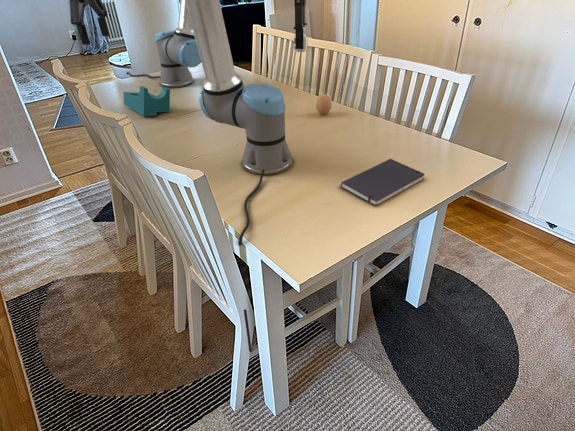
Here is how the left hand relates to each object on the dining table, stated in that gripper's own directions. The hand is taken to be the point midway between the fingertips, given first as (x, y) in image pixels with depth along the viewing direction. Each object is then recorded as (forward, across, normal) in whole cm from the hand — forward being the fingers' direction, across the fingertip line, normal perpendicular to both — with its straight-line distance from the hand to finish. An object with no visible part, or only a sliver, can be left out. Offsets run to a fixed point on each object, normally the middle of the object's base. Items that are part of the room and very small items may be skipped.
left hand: (96, 40), depth 151 cm
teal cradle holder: (+27, -2, +14) cm, 30 cm away
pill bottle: (+4, -5, +76) cm, 76 cm away
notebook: (+27, +47, +106) cm, 119 cm away
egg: (+27, -3, +85) cm, 90 cm away
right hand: (+3, -5, +76) cm, 76 cm away
